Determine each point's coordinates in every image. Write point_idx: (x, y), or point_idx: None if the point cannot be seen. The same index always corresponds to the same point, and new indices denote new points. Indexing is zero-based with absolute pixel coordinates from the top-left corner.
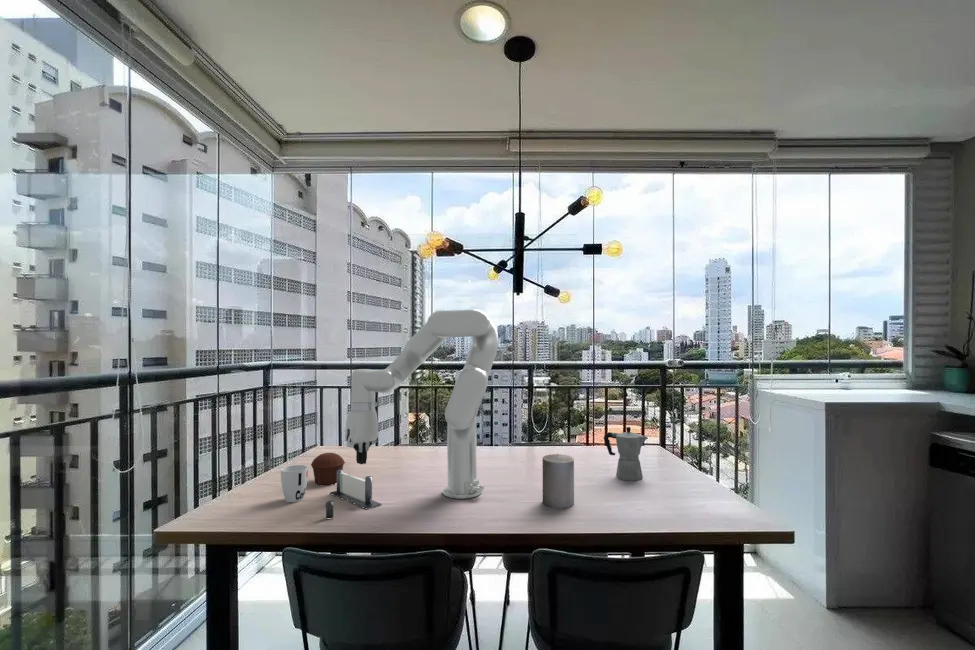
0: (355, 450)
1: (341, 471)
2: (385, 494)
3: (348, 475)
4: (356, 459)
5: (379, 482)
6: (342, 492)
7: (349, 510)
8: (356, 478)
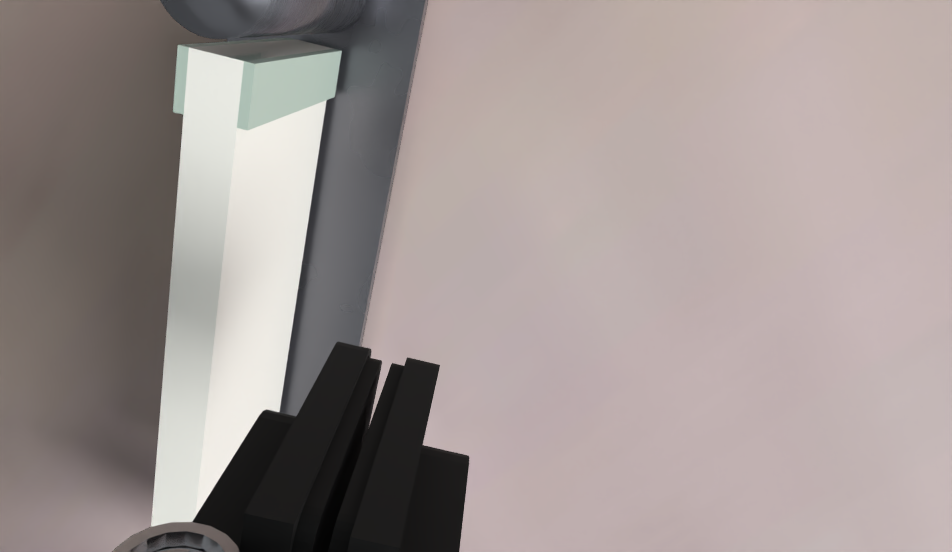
0: (143, 546)
1: (214, 35)
2: (558, 450)
3: (179, 286)
4: (257, 424)
5: (923, 108)
6: (332, 41)
7: (83, 449)
8: (156, 483)
